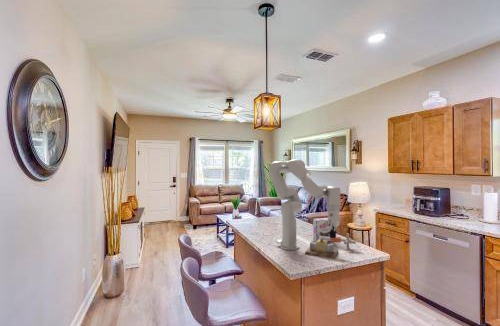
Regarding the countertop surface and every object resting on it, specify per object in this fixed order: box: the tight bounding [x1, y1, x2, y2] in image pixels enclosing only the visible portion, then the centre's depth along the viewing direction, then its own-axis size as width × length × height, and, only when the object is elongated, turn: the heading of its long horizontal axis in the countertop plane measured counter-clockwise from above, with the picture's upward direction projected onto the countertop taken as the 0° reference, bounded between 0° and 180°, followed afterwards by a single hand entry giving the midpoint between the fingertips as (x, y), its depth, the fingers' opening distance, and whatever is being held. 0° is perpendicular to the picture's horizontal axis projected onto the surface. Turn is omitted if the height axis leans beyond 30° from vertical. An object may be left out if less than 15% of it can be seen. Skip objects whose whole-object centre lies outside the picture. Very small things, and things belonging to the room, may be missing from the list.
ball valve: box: [309, 240, 335, 253], centre depth 161 cm, size 14×6×7 cm, turn 63°
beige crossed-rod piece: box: [341, 233, 357, 250], centre depth 169 cm, size 10×10×10 cm
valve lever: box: [319, 236, 342, 244], centre depth 159 cm, size 13×3×3 cm, turn 64°
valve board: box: [304, 246, 339, 260], centre depth 161 cm, size 18×13×2 cm
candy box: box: [312, 217, 330, 243], centre depth 187 cm, size 14×6×16 cm, turn 101°
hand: (332, 237), depth 153 cm, fingers closed
